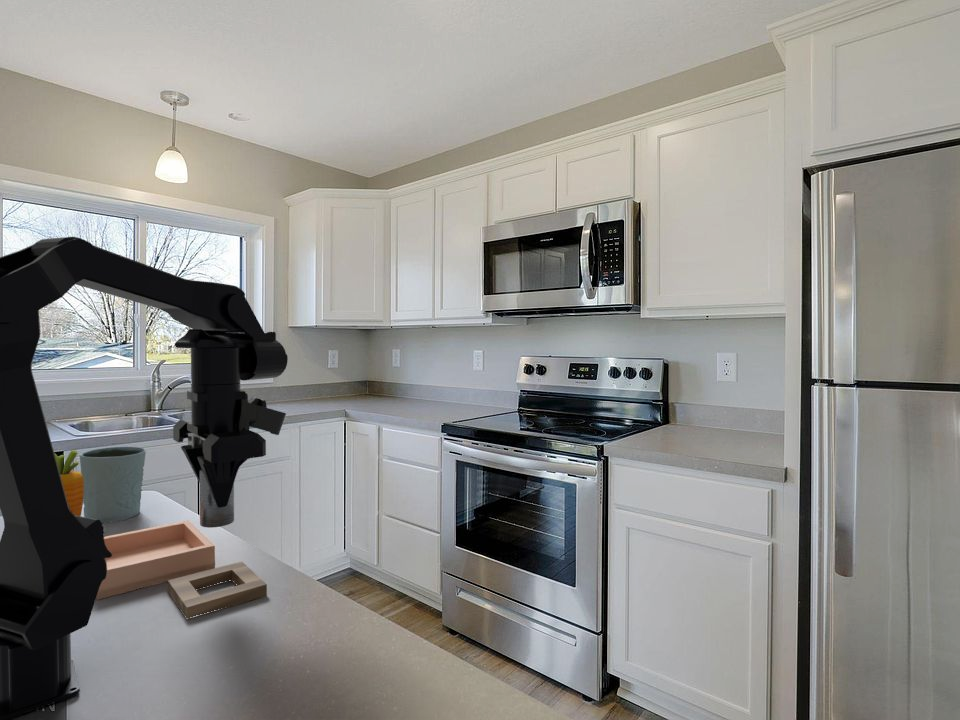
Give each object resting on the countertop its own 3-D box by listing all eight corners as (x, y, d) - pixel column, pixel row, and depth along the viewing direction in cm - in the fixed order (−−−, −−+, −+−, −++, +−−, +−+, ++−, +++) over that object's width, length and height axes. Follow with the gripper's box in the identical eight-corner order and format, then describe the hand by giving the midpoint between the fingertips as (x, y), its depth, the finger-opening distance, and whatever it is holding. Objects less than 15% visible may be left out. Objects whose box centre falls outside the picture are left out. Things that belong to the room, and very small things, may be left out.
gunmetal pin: (238, 522, 70) (238, 469, 70) (205, 529, 68) (204, 474, 67) (228, 515, 73) (228, 463, 73) (196, 521, 71) (195, 468, 70)
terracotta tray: (214, 569, 78) (214, 545, 78) (96, 599, 69) (96, 572, 69) (188, 541, 89) (188, 520, 88) (83, 564, 79) (83, 540, 79)
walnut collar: (266, 595, 70) (266, 584, 70) (186, 619, 64) (186, 607, 64) (242, 571, 77) (242, 561, 77) (167, 591, 71) (167, 580, 71)
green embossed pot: (74, 515, 101) (73, 451, 100) (136, 503, 108) (136, 443, 108) (88, 528, 94) (87, 460, 93) (153, 515, 101) (153, 451, 101)
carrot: (40, 544, 86) (38, 451, 86) (75, 534, 91) (74, 446, 90) (56, 550, 84) (55, 454, 83) (91, 540, 88) (90, 449, 88)
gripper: (307, 385, 68) (307, 507, 69) (254, 376, 82) (254, 478, 83) (212, 390, 61) (213, 527, 61) (171, 379, 75) (172, 491, 75)
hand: (217, 502), depth 70 cm, fingers closed on gunmetal pin, 4 cm apart
